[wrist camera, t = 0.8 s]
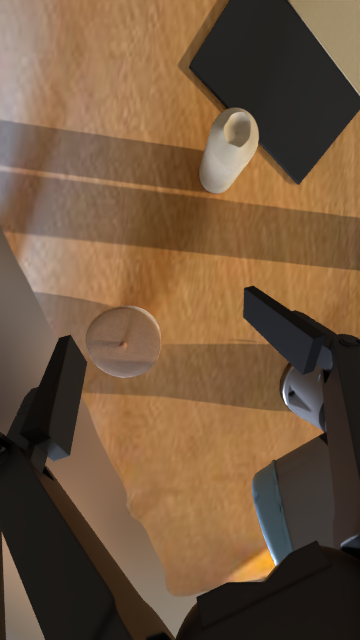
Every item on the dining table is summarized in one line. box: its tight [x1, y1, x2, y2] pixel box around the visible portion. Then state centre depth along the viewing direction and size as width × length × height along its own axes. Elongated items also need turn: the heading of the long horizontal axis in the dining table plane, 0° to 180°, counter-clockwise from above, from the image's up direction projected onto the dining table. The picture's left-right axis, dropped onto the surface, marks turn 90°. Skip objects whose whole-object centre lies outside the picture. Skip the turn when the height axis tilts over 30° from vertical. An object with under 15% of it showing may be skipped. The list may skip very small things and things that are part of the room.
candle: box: [199, 108, 259, 193], centre depth 25 cm, size 6×6×10 cm
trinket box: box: [86, 305, 161, 377], centre depth 31 cm, size 11×11×9 cm
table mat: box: [189, 0, 360, 184], centre depth 26 cm, size 22×24×1 cm
